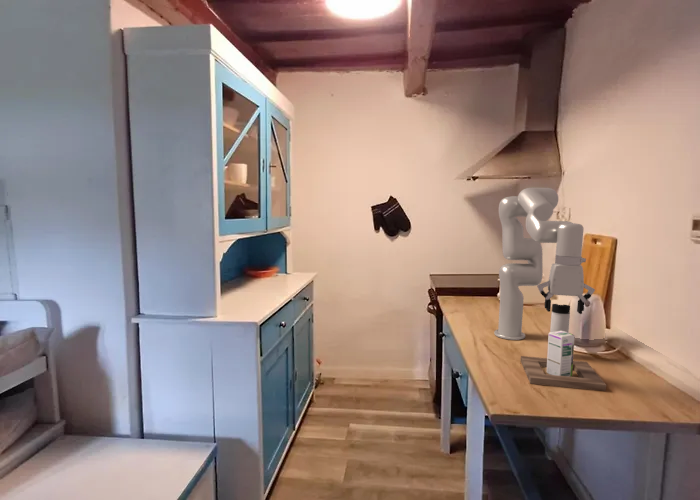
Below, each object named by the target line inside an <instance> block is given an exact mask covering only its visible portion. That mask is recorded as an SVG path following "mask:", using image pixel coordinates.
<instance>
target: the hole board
mask: <svg viewBox="0 0 700 500" xmlns="http://www.w3.org/2000/svg"><path fill="white" fill-rule="evenodd" d="M520 364H521V365H522V368H523V370H524V372H525V375H526V378H527V380H528V382H529V384H532V385H533V384H534V385H543V386H553V387H561V388H563V387H564V388H571V389H573V388H574V389H582V390H590V391H601V392H602V391H603V392H606V391H607V384H606V383H605V382H604V381H603V379H602V377H600V375H599V374H598V373H597V372H596V371H595V369H594V368H592V366H591V365H590V364H589V362H588V361H582V360H581V361H580V360H573V370H572V371H574V373H576V375H577V376H578V377H577V376H571V377H568V376H558V375H550V374H548V373H546V374H545V372H544V370H543V369H542V368H547V357H537V356H527V355H526V356H525V355H520Z"/></svg>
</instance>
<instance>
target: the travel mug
mask: <svg viewBox="0 0 700 500" xmlns="http://www.w3.org/2000/svg"><path fill="white" fill-rule="evenodd" d="M570 314H571V305H569V304H558V303H551V317H550V330H549V332H557V331H565V332H568V333H570V331H569V330H570V320H571V319H570V318H571V315H570Z"/></svg>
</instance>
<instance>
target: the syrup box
mask: <svg viewBox="0 0 700 500" xmlns="http://www.w3.org/2000/svg"><path fill="white" fill-rule="evenodd" d="M547 338H548V339H547V357H546V358H547V367H546V374H547V375H558V376H568V377H573V371H574V370H573V361H574V353H575V350H574V349H575V334H574V333H571V332H565V331H557V332H550V331H549V332H548V337H547Z"/></svg>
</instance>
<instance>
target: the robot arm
mask: <svg viewBox="0 0 700 500" xmlns="http://www.w3.org/2000/svg"><path fill="white" fill-rule="evenodd" d="M558 204H559V194H558V193H557V191H556V189H553V188H551V187H526V188H524V189H522V190H521V191H520V192H519V193H518V195H517V196H515V195H512V196H511V195H510V196H507V197H504V198H502V199H500V201H499V205H498V217H499V221H500V224H501V229H502V230H501V231H502V233H501V235H502V241H501V243H502V244H501V245H502V256H503V258H504V259H505V260H508V261H527V263H521V262H519V263H517V262H516V263H515V262H514V263H513V262H511V263H506V264H503V265H501V266H500V268H499V269H498V279H499V289H500V290H499V313H498V328H497V329H495V330H494V332H493V333H494V335H495V336H496V337H497V338H500V339H504V340H508V341H509V340H511V341H516V340H517V341H521V340H523V339H526V333H525V332H522V330H523V328H522V327H523V314H524V294H523V293H522V290H520V288H519V287H535V286H537V289H538V291H539V293H540V294H541V295H542V296H543V298H544V309H546V311H547V312H549V313H550V312H551V310H552V300H551V298H552V297H553V296H566V297H567V296H568V297H577V298H578V300H577V305H576V306H577V307H576V312H577V313H578V314H580V315H582V314H583V312H585V303H586V302H587V301H588V300H589V299H590V298H591V297H592V296H593V294H594V293H595V291H596V289H595V288H594V287H592V286H590V285H588V284H586V283H584V282H585V280H584V279H585V278H584V277H585V276H584V268H583V265H582V263H586V261H587V258H585V257H582V254H583V253H582V251H583V239H584V226H583V225H582V224H580V223H576V222H572V221H568V220H567V221H566V220H565V221H564V220H549V219H550V218H551V217H552V216H553V214H554V210H555V208H557V206H558ZM517 217H519V218H520V217H523V218H525V229H526V232H527V233H528V235H529V236H530V237H529V238H528V237H525V235H524V225H523V224H522V222H521V221H520V219H518V218H517ZM541 243H543V244H544V243H545V244H556V246H555V247H556V248H555V258H554V263H552V264H551V267H550V270H549V271H550V272H549V275H548V276H549V277H548V280H547V281H545V282H542V280H543V269H544V268H543V247H542V244H541ZM546 287H547V290H548V291H547V292H545V291H544V288H546ZM584 289H586V290H587V292H586V293H585V294H584Z"/></svg>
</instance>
